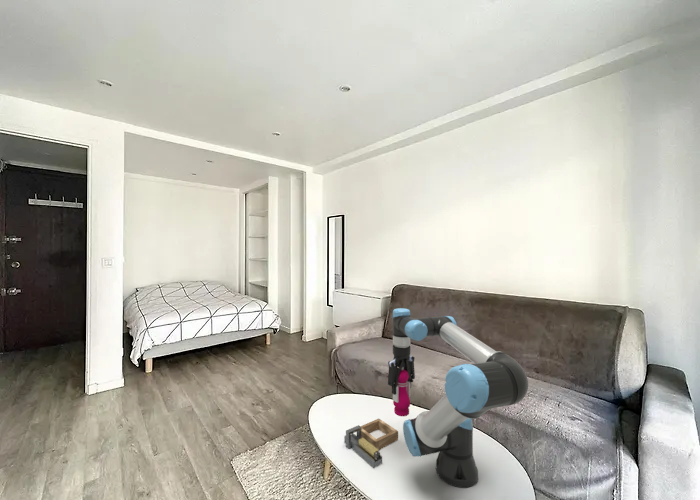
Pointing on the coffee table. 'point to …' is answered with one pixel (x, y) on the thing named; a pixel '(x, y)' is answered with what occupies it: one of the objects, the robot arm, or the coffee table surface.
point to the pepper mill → (402, 395)
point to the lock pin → (369, 449)
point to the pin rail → (353, 443)
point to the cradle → (383, 440)
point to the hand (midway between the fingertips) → (401, 398)
